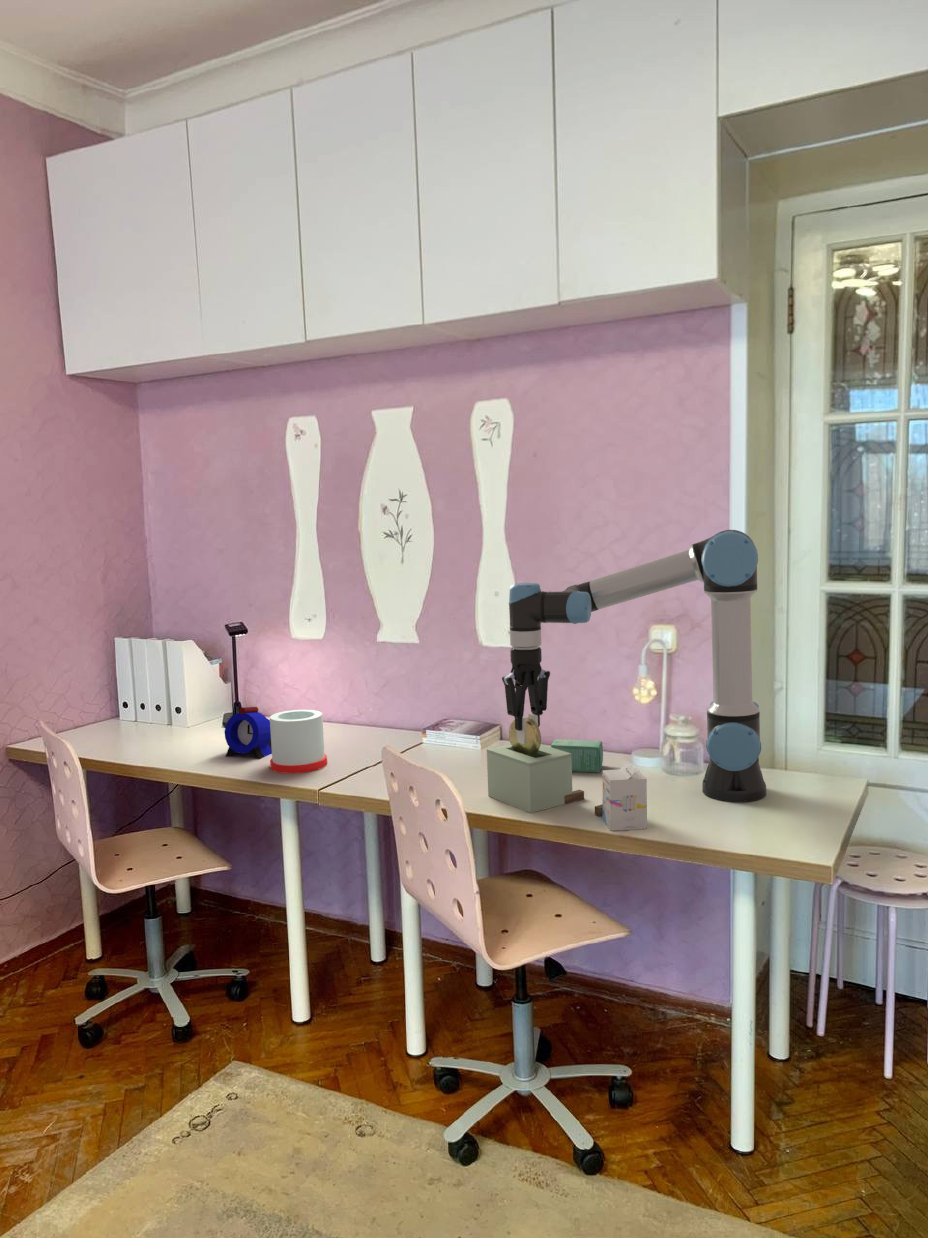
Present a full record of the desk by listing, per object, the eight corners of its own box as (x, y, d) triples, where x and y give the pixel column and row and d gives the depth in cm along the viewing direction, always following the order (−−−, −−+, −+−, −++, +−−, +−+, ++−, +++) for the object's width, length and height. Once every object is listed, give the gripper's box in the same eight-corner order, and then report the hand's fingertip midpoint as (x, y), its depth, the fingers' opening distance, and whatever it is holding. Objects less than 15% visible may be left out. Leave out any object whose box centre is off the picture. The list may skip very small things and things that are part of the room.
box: (600, 773, 254) (600, 746, 253) (550, 771, 257) (550, 744, 257) (603, 766, 261) (603, 739, 260) (554, 764, 265) (553, 738, 264)
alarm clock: (223, 757, 284) (220, 708, 282) (247, 747, 295) (244, 699, 293) (258, 760, 279) (255, 710, 278) (281, 749, 291) (278, 701, 289)
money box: (572, 801, 231) (571, 753, 230) (530, 813, 224) (529, 763, 222) (529, 785, 245) (527, 740, 244) (488, 796, 238) (486, 749, 236)
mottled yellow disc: (515, 740, 240) (522, 710, 236) (536, 760, 233) (544, 730, 229) (505, 742, 238) (513, 712, 234) (526, 763, 231) (534, 732, 228)
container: (259, 770, 268) (255, 719, 267) (292, 756, 283) (289, 707, 281) (306, 775, 262) (303, 723, 260) (337, 760, 276) (335, 711, 274)
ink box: (601, 818, 218) (600, 762, 217) (637, 816, 219) (637, 760, 217) (610, 831, 210) (609, 772, 208) (648, 829, 210) (647, 770, 209)
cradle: (618, 811, 223) (618, 802, 223) (599, 816, 220) (599, 808, 219) (579, 797, 234) (579, 789, 234) (561, 802, 231) (561, 794, 231)
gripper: (541, 641, 237) (543, 733, 240) (489, 649, 228) (492, 744, 231) (561, 645, 231) (562, 739, 234) (508, 652, 222) (511, 750, 225)
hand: (527, 741), depth 233 cm, fingers closed on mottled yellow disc, 3 cm apart
